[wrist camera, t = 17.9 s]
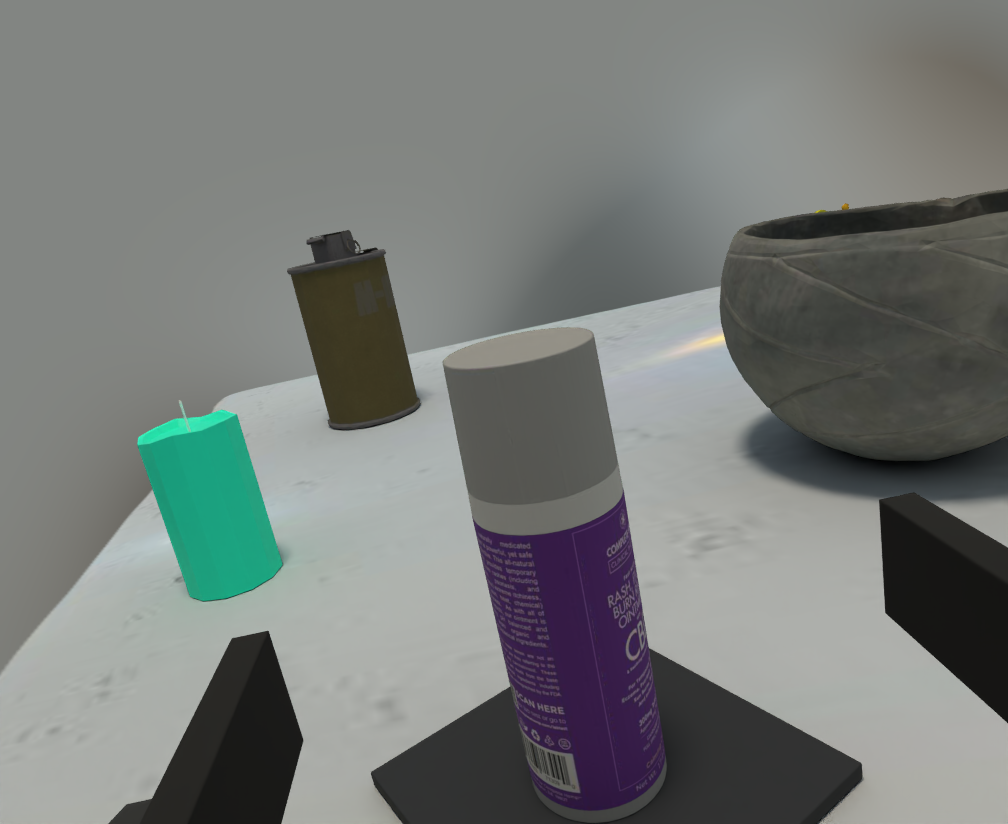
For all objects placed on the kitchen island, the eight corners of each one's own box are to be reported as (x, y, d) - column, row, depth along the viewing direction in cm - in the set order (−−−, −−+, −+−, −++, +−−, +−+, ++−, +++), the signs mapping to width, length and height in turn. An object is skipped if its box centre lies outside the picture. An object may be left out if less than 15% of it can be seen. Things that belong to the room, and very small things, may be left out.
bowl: (1180, 511, 34) (1201, 180, 30) (716, 511, 43) (684, 257, 39) (1060, 382, 52) (1064, 164, 48) (751, 401, 61) (732, 219, 57)
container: (683, 809, 23) (611, 345, 19) (536, 836, 23) (432, 380, 19) (650, 710, 27) (585, 318, 23) (527, 732, 27) (442, 347, 23)
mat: (580, 1058, 17) (576, 1041, 17) (373, 785, 27) (370, 771, 27) (863, 778, 23) (862, 762, 23) (610, 636, 33) (608, 625, 33)
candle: (275, 586, 45) (217, 401, 42) (176, 610, 44) (110, 424, 41) (289, 545, 51) (239, 380, 47) (201, 566, 50) (145, 400, 47)
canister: (380, 430, 75) (331, 233, 70) (309, 430, 80) (258, 248, 75) (441, 397, 84) (401, 219, 78) (373, 399, 89) (331, 234, 84)
